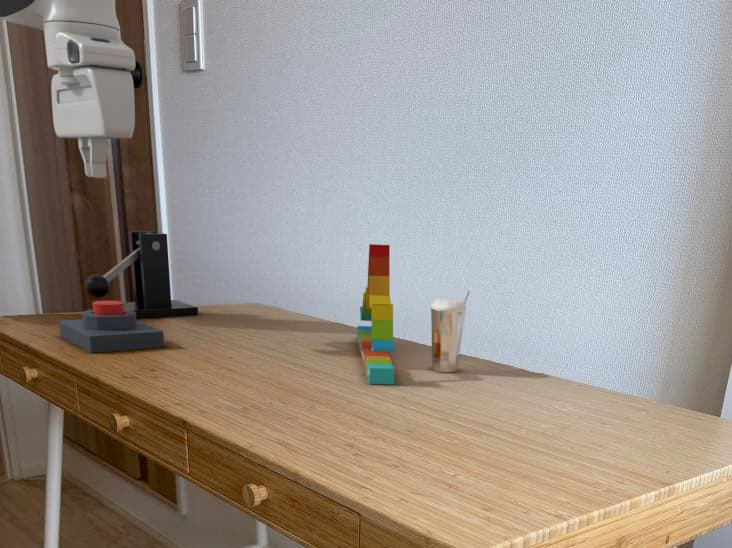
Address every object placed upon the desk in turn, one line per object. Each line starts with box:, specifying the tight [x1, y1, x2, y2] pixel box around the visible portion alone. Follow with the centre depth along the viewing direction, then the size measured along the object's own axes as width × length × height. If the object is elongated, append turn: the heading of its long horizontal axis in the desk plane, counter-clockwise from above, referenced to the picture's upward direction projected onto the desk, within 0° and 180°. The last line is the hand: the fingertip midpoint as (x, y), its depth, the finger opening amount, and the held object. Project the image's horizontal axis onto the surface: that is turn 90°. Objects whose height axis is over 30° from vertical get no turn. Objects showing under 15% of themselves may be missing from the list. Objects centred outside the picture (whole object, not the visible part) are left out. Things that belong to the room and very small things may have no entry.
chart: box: [355, 243, 396, 385], centre depth 111 cm, size 30×3×15 cm, turn 6°
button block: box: [58, 309, 165, 354], centre depth 115 cm, size 13×10×4 cm
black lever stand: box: [123, 231, 199, 320], centre depth 138 cm, size 12×9×13 cm
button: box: [92, 300, 124, 315], centre depth 114 cm, size 4×4×2 cm
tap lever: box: [85, 240, 140, 299], centre depth 135 cm, size 14×4×4 cm
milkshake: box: [430, 290, 471, 373], centre depth 107 cm, size 4×5×10 cm
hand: (96, 177), depth 108 cm, fingers closed
